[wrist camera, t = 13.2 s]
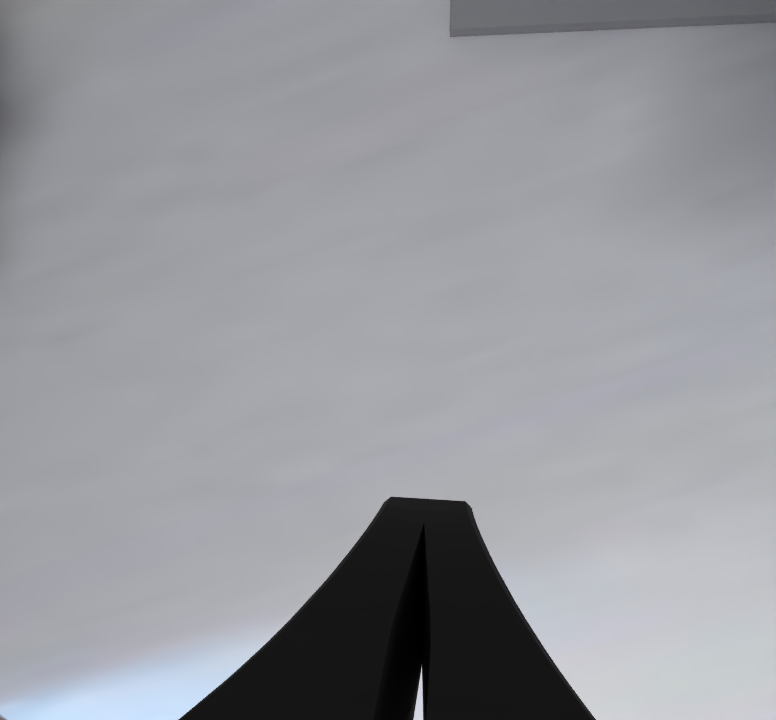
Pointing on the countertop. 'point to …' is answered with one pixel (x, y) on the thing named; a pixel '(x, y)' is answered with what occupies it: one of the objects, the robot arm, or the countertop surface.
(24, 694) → the countertop surface
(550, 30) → the socket plate
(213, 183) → the countertop surface
